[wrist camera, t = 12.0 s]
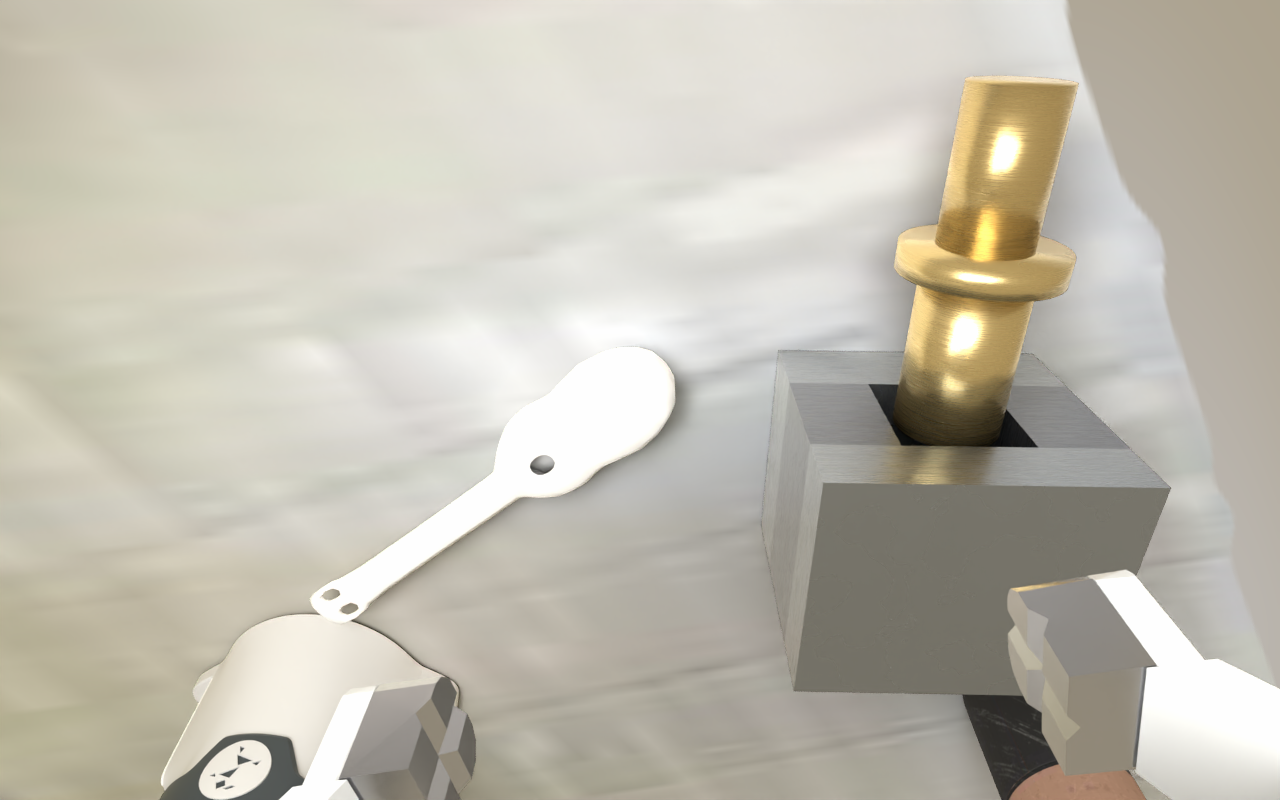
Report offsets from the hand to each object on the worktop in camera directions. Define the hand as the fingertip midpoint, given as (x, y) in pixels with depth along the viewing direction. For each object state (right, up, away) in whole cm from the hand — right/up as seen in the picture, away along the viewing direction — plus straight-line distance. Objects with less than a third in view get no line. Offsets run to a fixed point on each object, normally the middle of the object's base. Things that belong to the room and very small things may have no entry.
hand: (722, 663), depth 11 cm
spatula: (-11, -1, +36) cm, 38 cm away
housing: (+13, +1, +34) cm, 37 cm away
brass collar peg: (+13, +11, +25) cm, 31 cm away
